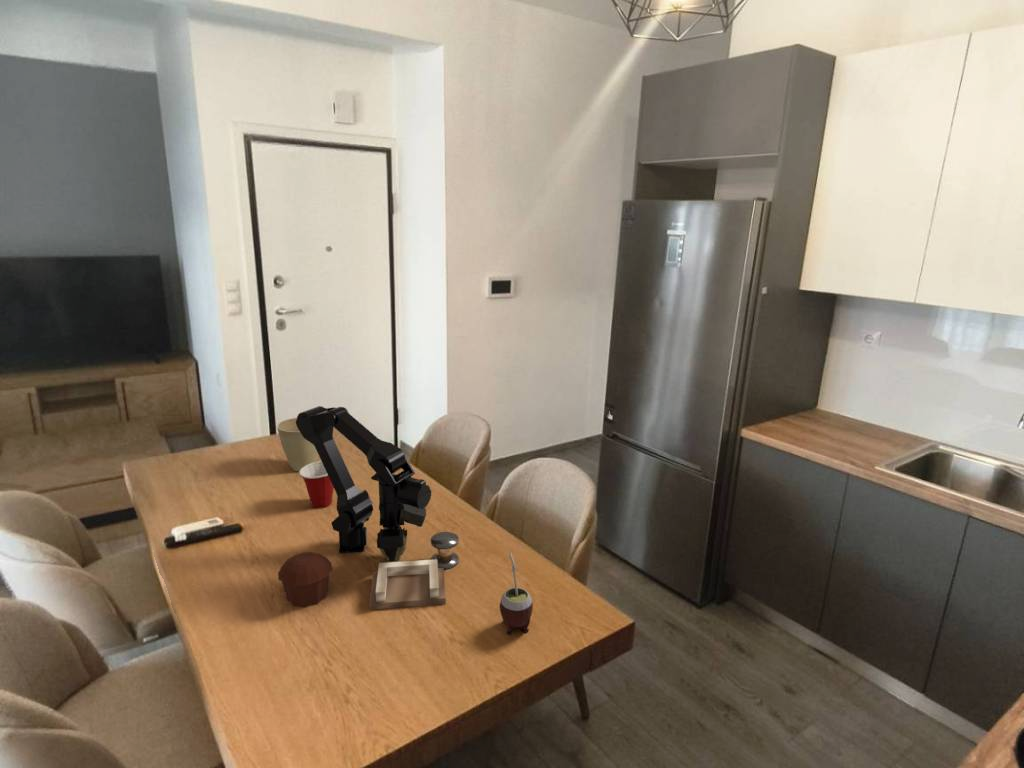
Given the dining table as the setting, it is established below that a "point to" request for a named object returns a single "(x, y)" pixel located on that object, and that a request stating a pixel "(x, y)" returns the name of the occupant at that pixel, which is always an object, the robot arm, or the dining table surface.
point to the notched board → (407, 584)
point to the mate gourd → (516, 606)
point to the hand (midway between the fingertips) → (393, 553)
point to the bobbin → (445, 549)
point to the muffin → (305, 578)
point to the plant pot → (296, 445)
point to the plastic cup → (317, 484)
